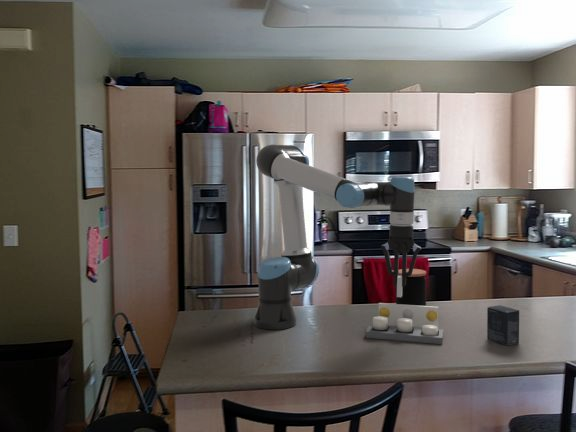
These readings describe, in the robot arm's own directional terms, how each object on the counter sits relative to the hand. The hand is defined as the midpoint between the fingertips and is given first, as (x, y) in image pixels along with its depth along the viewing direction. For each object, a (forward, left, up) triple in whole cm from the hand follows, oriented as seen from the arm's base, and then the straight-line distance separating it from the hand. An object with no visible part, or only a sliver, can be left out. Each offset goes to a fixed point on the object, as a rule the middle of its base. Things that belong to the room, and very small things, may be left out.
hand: (399, 296), depth 170 cm
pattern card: (+2, +10, -13) cm, 17 cm away
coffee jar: (+2, +20, -14) cm, 24 cm away
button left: (-6, 0, -11) cm, 13 cm away
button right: (+10, 0, -13) cm, 16 cm away
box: (+32, +4, -14) cm, 35 cm away
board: (+2, 0, -13) cm, 13 cm away
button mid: (+2, 0, -11) cm, 11 cm away
